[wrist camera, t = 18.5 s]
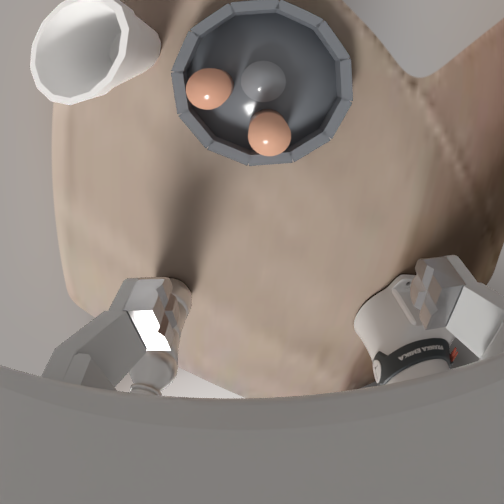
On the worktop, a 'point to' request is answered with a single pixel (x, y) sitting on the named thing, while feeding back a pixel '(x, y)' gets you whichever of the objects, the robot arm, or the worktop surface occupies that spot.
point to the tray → (287, 51)
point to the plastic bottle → (162, 352)
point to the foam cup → (90, 49)
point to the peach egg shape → (209, 88)
